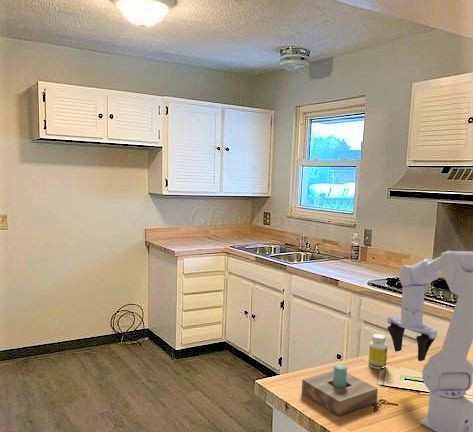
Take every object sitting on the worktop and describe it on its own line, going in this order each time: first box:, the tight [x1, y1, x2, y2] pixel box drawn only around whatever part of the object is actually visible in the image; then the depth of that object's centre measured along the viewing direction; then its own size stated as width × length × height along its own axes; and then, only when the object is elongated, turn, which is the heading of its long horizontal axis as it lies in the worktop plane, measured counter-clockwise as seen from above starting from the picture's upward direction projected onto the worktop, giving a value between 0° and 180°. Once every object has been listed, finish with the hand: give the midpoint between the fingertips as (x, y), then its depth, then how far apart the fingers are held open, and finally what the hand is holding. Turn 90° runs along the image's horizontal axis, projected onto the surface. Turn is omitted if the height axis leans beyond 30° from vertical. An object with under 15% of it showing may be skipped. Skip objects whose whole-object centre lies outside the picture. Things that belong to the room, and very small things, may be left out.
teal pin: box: [332, 364, 348, 390], centre depth 123 cm, size 4×4×8 cm
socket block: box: [301, 369, 379, 417], centre depth 123 cm, size 14×14×4 cm
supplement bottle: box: [368, 333, 388, 370], centre depth 144 cm, size 5×5×10 cm
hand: (409, 355), depth 128 cm, fingers open, 7 cm apart
